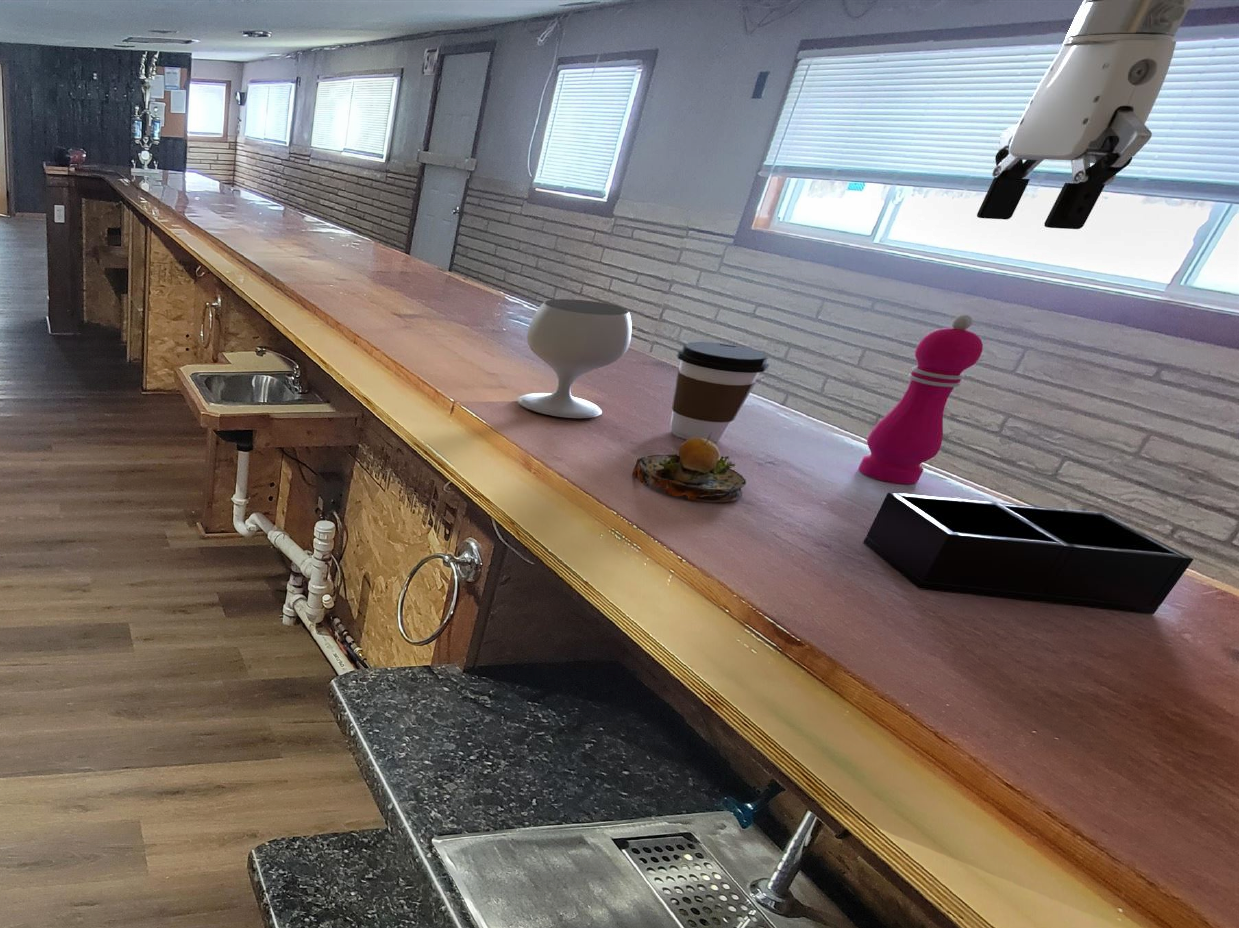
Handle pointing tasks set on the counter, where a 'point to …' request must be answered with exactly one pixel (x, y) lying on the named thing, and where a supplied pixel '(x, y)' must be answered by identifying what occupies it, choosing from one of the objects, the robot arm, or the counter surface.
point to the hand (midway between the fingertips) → (1025, 223)
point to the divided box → (1024, 553)
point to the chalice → (575, 349)
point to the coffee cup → (712, 387)
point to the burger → (692, 472)
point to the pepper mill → (921, 405)
